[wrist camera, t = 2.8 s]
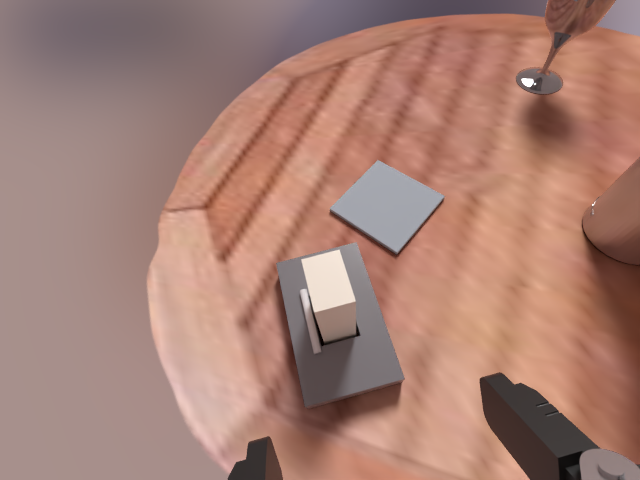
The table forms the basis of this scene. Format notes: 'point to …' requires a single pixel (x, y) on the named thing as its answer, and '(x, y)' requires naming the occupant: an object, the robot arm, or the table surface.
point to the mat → (387, 206)
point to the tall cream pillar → (331, 296)
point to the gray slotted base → (344, 356)
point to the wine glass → (562, 38)
